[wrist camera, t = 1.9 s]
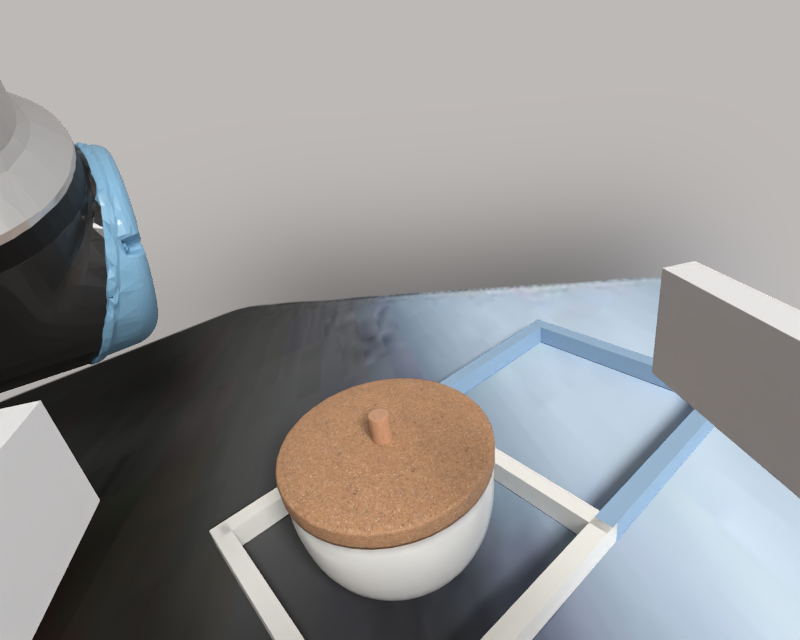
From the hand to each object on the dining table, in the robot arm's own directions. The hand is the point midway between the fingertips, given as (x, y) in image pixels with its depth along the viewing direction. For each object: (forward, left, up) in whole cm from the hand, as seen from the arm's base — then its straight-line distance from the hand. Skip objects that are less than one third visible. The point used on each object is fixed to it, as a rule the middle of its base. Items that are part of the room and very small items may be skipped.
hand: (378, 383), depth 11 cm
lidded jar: (-9, +5, -18) cm, 21 cm away
